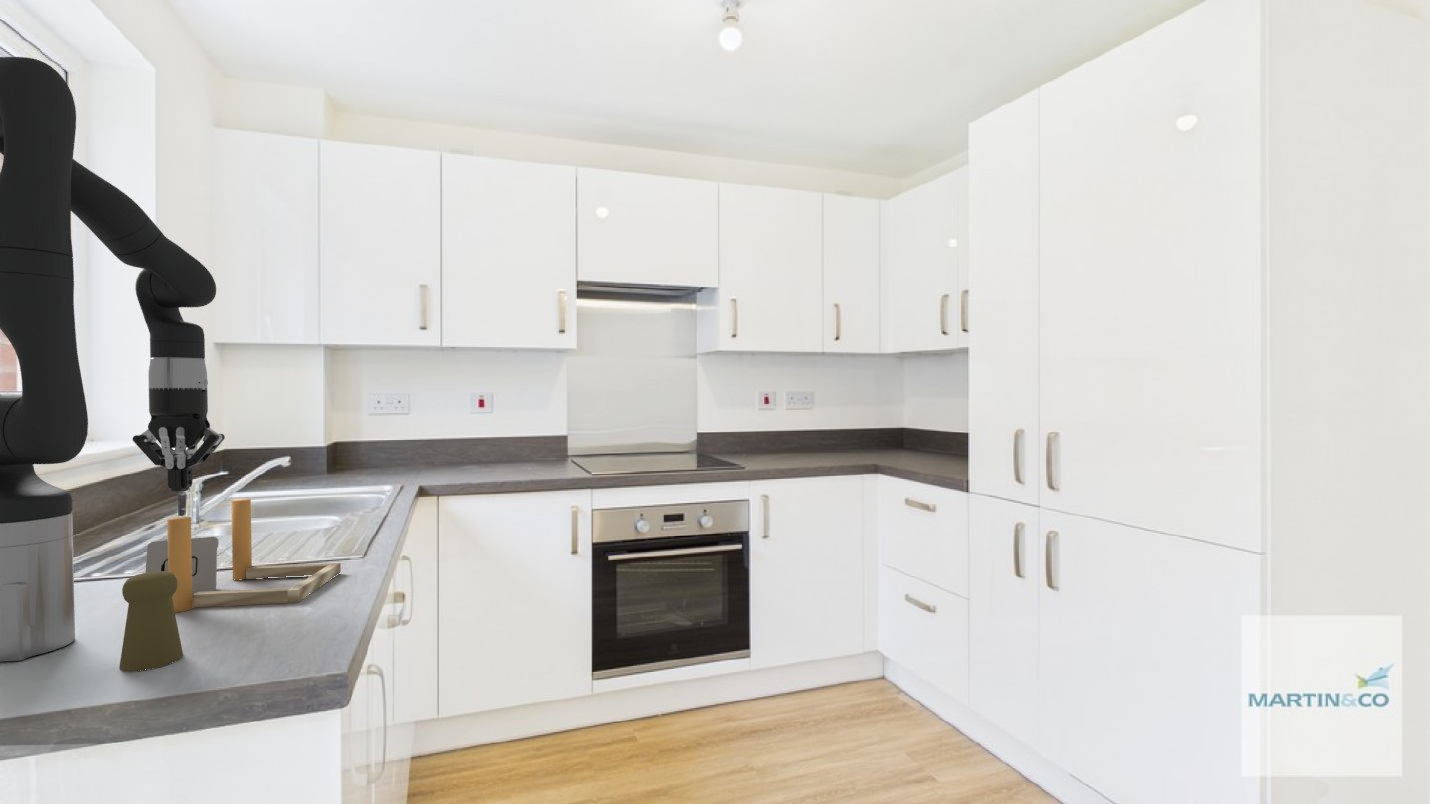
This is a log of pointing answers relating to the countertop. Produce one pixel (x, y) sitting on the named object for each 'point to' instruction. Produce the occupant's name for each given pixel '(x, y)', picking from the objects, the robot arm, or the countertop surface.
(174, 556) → the post left
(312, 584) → the wooden square frame
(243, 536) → the post right
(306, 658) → the countertop surface
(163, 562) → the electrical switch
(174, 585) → the cork
